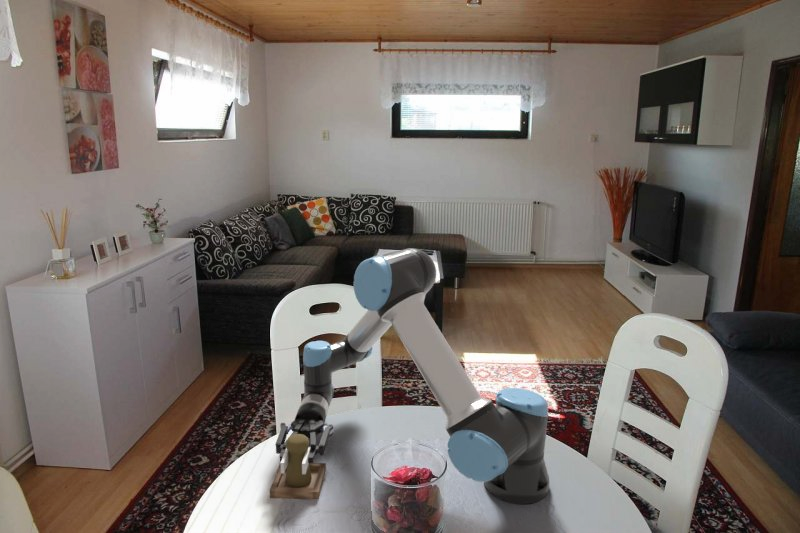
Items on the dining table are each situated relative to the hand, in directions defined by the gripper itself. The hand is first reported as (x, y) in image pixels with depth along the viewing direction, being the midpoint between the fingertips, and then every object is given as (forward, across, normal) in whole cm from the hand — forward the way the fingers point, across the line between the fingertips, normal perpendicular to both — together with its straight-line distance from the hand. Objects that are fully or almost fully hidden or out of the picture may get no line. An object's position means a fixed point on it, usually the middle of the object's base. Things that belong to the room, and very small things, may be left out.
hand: (293, 468), depth 126 cm
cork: (-5, 0, -7) cm, 9 cm away
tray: (-5, 0, -8) cm, 9 cm away
